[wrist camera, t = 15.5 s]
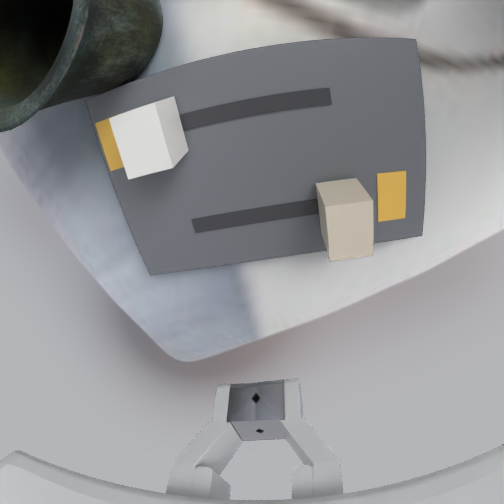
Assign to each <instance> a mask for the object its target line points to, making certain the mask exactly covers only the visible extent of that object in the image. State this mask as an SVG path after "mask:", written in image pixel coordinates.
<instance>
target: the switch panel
mask: <svg viewBox="0 0 504 504" xmlns="http://www.w3.org/2000/svg"><path fill="white" fill-rule="evenodd" d="M173 96H174V97H175V101H176V105H177V109H178V113H179V116H180V120H181V124H182V128H183V131H184V135H185V139H186V142H187V146H188V150H189V151H188V152H187V153H186V154H185V155H184V156H183V157H182V159H181V160H180V161H179V162H178V163H177V164H176V165H175V166H174V168H171V169H167V170H163V171H159V172H155V173H151V174H148V175H144V176H140V177H136V178H133V179H129V180H128V177H127V174H126V171H125V168H124V165H123V162H122V159H121V156H120V153H119V150H118V147H117V144H116V140H115V137H114V134H113V131H112V127H111V124H110V121H109V118H112V117H114V116H117V115H119V114H122V113H124V112H127V111H130V110H132V109H135V108H138V107H141V106H144V105H147V104H150V103H153V102H156V101H160V100H163V99H166V98H170V97H173ZM86 104H87V107H88V111H89V114H90V118H91V121H92V124H93V128H94V131H95V134H96V137H97V140H98V143H99V146H100V149H101V153H102V155H103V158H104V161H105V164H106V167H107V170H108V173H109V176H110V179H111V181H112V184H113V187H114V189H115V192H116V195H117V198H118V200H119V203H120V205H121V208H122V211H123V213H124V216H125V218H126V221H127V223H128V226H129V228H130V230H131V233H132V235H133V238H134V240H135V243H136V245H137V247H138V250H139V252H140V254H141V256H142V259H143V261H144V263H145V266H146V268H147V270H148V272H149V274H150V275H156V274H163V273H171V272H178V271H185V270H192V269H200V268H207V267H214V266H221V265H228V264H235V263H243V262H250V261H257V260H264V259H271V258H278V257H284V256H291V255H298V254H305V253H312V252H319V251H326V247H325V243H324V240H323V236H322V233H321V225H320V216H319V207H318V198H317V190H316V183H321V182H328V181H336V180H343V179H351V178H357V179H358V181H359V182H360V183H361V185H362V186H363V187H364V189H365V190H366V191H367V193H368V194H369V195H370V197H371V198H372V200H373V224H374V236H373V243H379V242H386V241H392V240H399V239H405V238H412V237H418V236H422V232H423V220H424V205H425V181H426V137H425V114H424V100H423V88H422V78H421V70H420V62H419V55H418V48H417V42H416V39H407V38H340V39H324V40H312V41H302V42H294V43H286V44H279V45H272V46H265V47H259V48H254V49H248V50H243V51H238V52H233V53H229V54H224V55H220V56H215V57H211V58H207V59H203V60H199V61H195V62H192V63H188V64H185V65H181V66H178V67H174V68H171V69H168V70H165V71H162V72H158V73H155V74H152V75H149V76H147V77H144V78H141V79H138V80H135V81H133V82H130V83H127V84H125V85H122V86H119V87H117V88H114V89H112V90H110V91H107V92H105V93H102V94H100V95H98V96H95V97H93V98H91V99H89V100H86Z"/></svg>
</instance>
